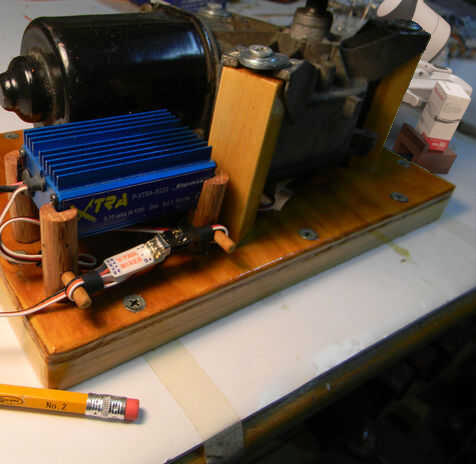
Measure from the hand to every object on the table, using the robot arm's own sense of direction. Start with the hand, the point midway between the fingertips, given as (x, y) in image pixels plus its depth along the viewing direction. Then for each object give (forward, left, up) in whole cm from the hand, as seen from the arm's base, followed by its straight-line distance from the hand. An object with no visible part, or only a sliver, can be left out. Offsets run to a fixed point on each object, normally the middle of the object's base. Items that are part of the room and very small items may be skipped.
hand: (439, 104), depth 99 cm
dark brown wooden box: (+1, +3, -12) cm, 12 cm away
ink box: (0, +2, -8) cm, 8 cm away
